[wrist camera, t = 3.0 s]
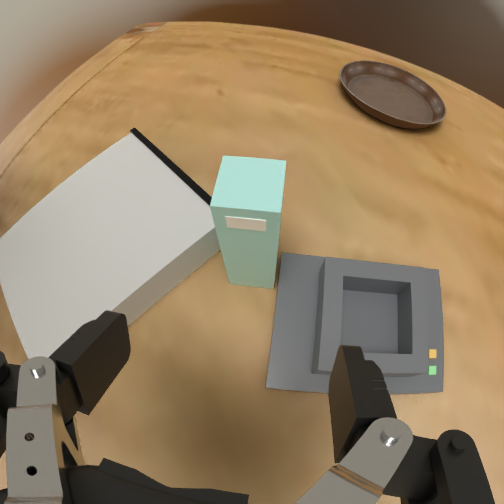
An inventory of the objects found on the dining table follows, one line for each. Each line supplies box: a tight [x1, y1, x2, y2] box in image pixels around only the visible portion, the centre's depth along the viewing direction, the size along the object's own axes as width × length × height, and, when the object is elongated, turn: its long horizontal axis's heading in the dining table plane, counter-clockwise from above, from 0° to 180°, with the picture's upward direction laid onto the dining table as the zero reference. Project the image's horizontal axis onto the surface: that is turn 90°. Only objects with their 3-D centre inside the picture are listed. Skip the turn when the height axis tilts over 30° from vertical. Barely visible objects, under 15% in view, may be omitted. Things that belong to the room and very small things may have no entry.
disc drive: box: [0, 128, 221, 359], centre depth 28 cm, size 18×22×5 cm
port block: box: [266, 252, 444, 394], centre depth 24 cm, size 16×12×4 cm
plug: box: [210, 156, 286, 289], centre depth 23 cm, size 4×4×12 cm
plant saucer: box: [340, 61, 446, 129], centre depth 40 cm, size 18×18×3 cm
